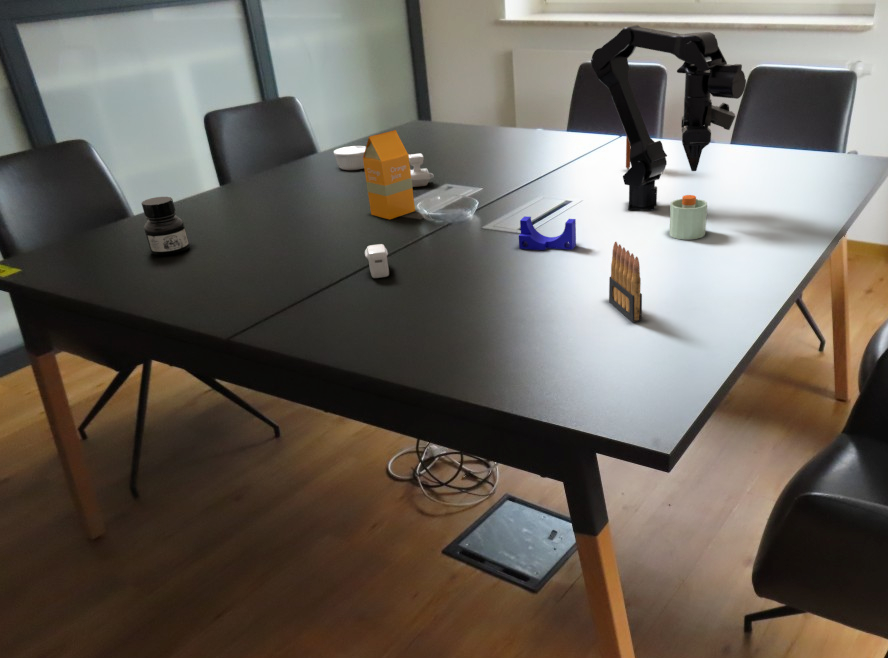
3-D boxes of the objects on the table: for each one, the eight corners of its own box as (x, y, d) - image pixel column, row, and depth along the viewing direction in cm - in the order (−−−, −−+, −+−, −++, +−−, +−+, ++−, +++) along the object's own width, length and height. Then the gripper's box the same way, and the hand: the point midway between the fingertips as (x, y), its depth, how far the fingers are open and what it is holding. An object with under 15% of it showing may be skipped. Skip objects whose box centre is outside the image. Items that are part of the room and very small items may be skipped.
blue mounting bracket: (519, 248, 185) (517, 222, 181) (525, 242, 188) (524, 216, 185) (570, 252, 181) (569, 225, 178) (576, 245, 185) (575, 219, 181)
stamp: (404, 189, 232) (400, 159, 228) (402, 183, 238) (398, 154, 233) (435, 186, 233) (432, 156, 229) (433, 180, 239) (430, 151, 234)
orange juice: (415, 210, 214) (406, 131, 203) (389, 219, 209) (378, 138, 198) (396, 206, 219) (386, 128, 208) (370, 214, 213) (358, 135, 203)
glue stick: (680, 233, 186) (682, 198, 182) (680, 229, 188) (682, 194, 184) (694, 233, 185) (696, 198, 181) (693, 229, 188) (695, 194, 184)
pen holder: (669, 239, 184) (670, 208, 181) (669, 228, 191) (670, 198, 187) (705, 239, 183) (707, 208, 179) (704, 228, 190) (706, 198, 186)
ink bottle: (151, 259, 192) (136, 209, 185) (147, 249, 198) (132, 200, 192) (194, 251, 195) (181, 201, 189) (189, 241, 202) (175, 192, 196)
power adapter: (365, 262, 182) (361, 237, 179) (387, 260, 183) (384, 234, 180) (369, 280, 173) (365, 253, 170) (392, 277, 173) (388, 250, 170)
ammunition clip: (608, 301, 156) (609, 240, 150) (617, 299, 157) (618, 239, 151) (632, 322, 148) (634, 259, 141) (641, 320, 148) (643, 257, 142)
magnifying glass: (635, 174, 233) (637, 99, 223) (629, 174, 233) (631, 100, 222) (625, 166, 240) (627, 94, 230) (620, 167, 240) (621, 95, 230)
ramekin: (379, 164, 259) (377, 147, 257) (355, 172, 252) (353, 155, 249) (353, 161, 265) (350, 144, 262) (329, 169, 257) (326, 152, 254)
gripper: (737, 102, 174) (731, 176, 182) (731, 86, 190) (726, 155, 198) (684, 103, 176) (680, 176, 184) (683, 88, 192) (679, 156, 200)
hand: (693, 165), depth 192 cm, fingers open, 9 cm apart
